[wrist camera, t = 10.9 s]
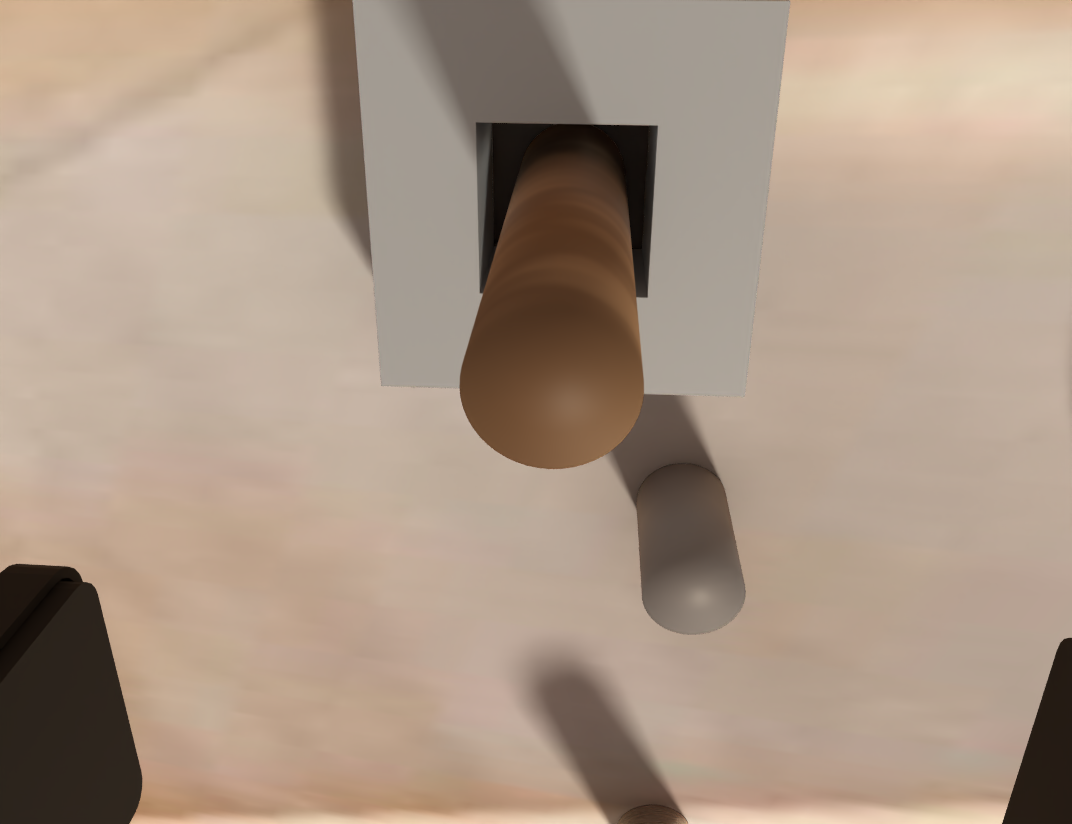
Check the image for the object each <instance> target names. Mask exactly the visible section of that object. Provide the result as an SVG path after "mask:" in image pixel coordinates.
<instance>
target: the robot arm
mask: <svg viewBox="0 0 1072 824" xmlns="http://www.w3.org/2000/svg"><path fill="white" fill-rule="evenodd" d="M141 791H142V773H141V768H140V764H139V760H138V756H137V752H136V748H135V744H134V740H133V736H132V732H131V728H130V724H129V720H128V715H127V711H126V707H125V703H124V699H123V695H122V691H121V687H120V683H119V679H118V675H117V671H116V667H115V662H114V658H113V654H112V650H111V646H110V642H109V638H108V634H107V630H106V626H105V622H104V618H103V614H102V609H101V605H100V601H99V597H98V594H97V591H96V589H95V587H94V586H93V585H92V584H90V583H87V582H83V581H82V578H81V576H80V574H79V573H78V572H77V571H76V570H75V569H74V568H71V567H65V566H47V565H29V564H15V565H11V566H8V567H7V568H6V569H5V570H3V571H2V572H1V573H0V824H129V823H130V821H131V820H132V818H133V816H134V814H135V812H136V809H137V807H138V804H139V801H140V797H141ZM1002 824H1072V638H1066V639H1064V640H1063V641H1062V642H1061V643H1060V645H1059V647H1058V649H1057V652H1056V655H1055V658H1054V662H1053V665H1052V668H1051V671H1050V674H1049V677H1048V681H1047V684H1046V687H1045V690H1044V693H1043V696H1042V700H1041V703H1040V706H1039V709H1038V712H1037V715H1036V719H1035V722H1034V725H1033V728H1032V731H1031V734H1030V737H1029V741H1028V744H1027V747H1026V750H1025V753H1024V756H1023V760H1022V763H1021V766H1020V769H1019V772H1018V775H1017V779H1016V782H1015V785H1014V788H1013V791H1012V794H1011V797H1010V801H1009V804H1008V807H1007V810H1006V813H1005V816H1004V820H1003V823H1002Z"/></svg>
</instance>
